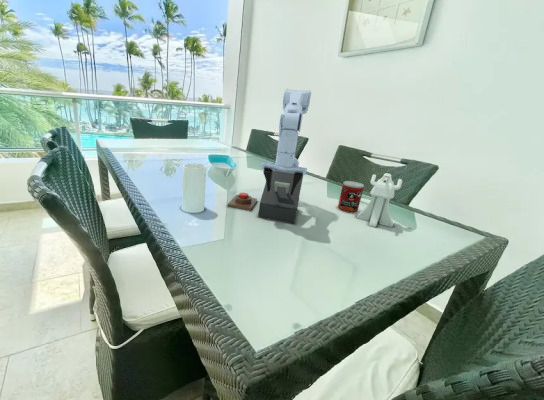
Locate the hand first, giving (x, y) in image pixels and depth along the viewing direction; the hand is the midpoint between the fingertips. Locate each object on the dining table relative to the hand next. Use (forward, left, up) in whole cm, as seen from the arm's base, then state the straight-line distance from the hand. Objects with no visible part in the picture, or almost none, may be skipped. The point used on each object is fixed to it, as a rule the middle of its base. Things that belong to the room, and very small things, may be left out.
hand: (279, 192), depth 91 cm
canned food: (-36, +9, -11) cm, 39 cm away
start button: (-2, -18, -8) cm, 20 cm away
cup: (+18, -24, -11) cm, 32 cm away
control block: (-2, -18, -10) cm, 21 cm away
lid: (-6, -4, -1) cm, 7 cm away
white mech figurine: (-32, +21, -11) cm, 40 cm away
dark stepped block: (-7, -4, -10) cm, 13 cm away
